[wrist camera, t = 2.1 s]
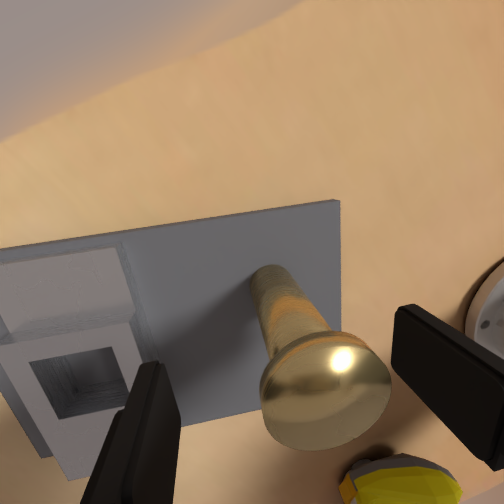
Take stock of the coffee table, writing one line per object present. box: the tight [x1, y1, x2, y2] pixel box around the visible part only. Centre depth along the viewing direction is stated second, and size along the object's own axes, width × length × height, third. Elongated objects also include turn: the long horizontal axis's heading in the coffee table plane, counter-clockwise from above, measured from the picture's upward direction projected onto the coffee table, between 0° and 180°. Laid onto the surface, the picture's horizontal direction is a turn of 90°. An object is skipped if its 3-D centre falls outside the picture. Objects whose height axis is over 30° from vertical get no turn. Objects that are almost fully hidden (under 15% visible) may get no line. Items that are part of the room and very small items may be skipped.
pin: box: [249, 264, 391, 451], centre depth 12 cm, size 4×4×9 cm
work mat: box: [0, 199, 341, 458], centre depth 17 cm, size 24×16×1 cm, turn 97°
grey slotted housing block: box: [0, 242, 161, 481], centre depth 15 cm, size 7×15×2 cm, turn 7°
